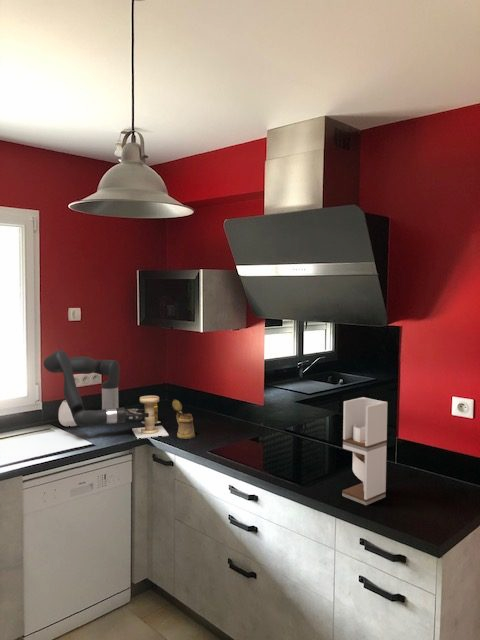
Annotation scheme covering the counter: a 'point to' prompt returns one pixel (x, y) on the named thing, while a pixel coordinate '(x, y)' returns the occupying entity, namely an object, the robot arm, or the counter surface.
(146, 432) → the wooden spool
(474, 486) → the counter surface
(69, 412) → the white faceted vase
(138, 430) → the mat
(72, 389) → the robot arm
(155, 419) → the condiment
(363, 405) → the display case
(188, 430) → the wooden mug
